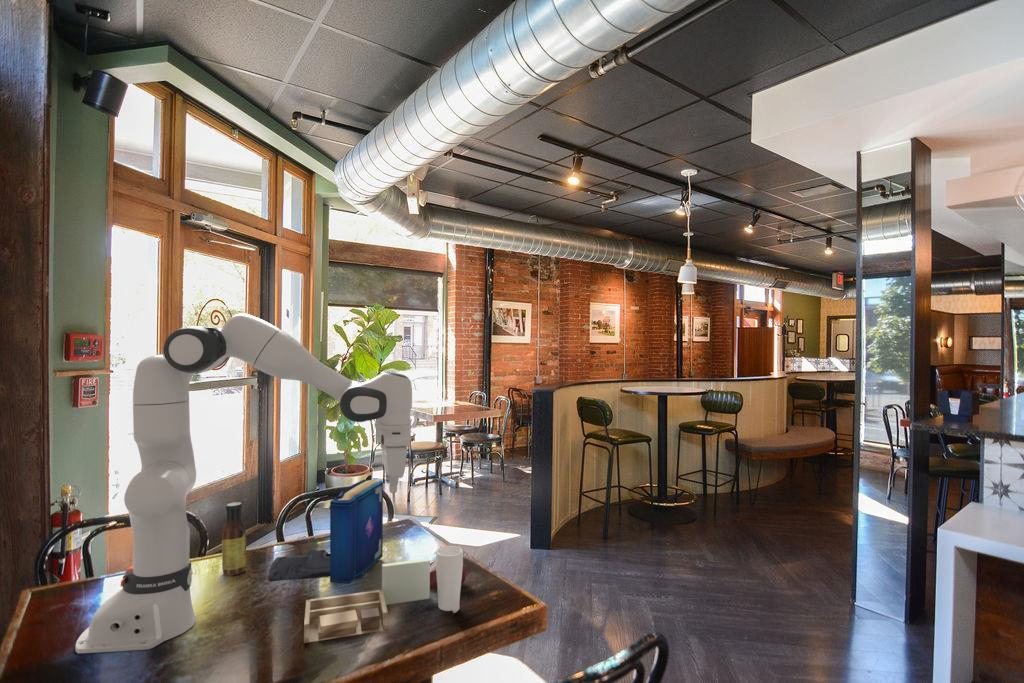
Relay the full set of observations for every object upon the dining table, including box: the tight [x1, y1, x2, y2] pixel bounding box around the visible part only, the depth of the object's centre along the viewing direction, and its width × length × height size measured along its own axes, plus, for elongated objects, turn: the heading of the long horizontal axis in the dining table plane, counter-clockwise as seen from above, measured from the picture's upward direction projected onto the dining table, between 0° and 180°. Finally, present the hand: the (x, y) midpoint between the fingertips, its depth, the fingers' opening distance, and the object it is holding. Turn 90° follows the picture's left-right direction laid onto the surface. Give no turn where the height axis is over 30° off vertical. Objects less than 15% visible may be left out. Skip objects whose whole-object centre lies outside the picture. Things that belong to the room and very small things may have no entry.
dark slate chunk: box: [267, 549, 330, 582], centre depth 158 cm, size 15×22×5 cm
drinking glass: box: [435, 545, 464, 614], centre depth 134 cm, size 7×7×15 cm
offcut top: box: [319, 610, 358, 633], centre depth 121 cm, size 8×5×2 cm, turn 113°
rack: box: [303, 589, 389, 644], centre depth 125 cm, size 18×12×5 cm, turn 109°
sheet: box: [381, 558, 431, 606], centre depth 136 cm, size 12×2×11 cm, turn 109°
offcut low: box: [318, 623, 356, 639], centre depth 121 cm, size 8×5×2 cm, turn 109°
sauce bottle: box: [221, 501, 247, 577], centre depth 155 cm, size 7×6×20 cm
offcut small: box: [361, 608, 380, 631], centre depth 124 cm, size 4×4×3 cm
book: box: [329, 478, 384, 584], centre depth 156 cm, size 22×7×25 cm, turn 169°
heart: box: [430, 559, 469, 590], centre depth 148 cm, size 12×8×10 cm
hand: (391, 487), depth 138 cm, fingers open, 8 cm apart
